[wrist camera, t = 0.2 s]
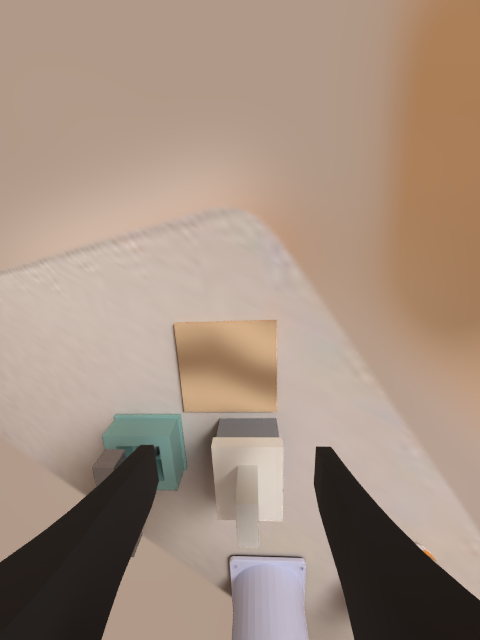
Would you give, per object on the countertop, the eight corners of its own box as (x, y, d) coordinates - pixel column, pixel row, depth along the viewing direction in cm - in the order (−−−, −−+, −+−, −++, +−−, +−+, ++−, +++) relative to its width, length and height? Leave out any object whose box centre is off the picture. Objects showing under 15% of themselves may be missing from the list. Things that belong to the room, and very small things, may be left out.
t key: (168, 478, 24) (139, 557, 18) (145, 478, 24) (109, 556, 18) (157, 406, 22) (119, 468, 16) (132, 406, 22) (86, 467, 16)
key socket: (187, 467, 24) (179, 492, 21) (126, 467, 24) (112, 491, 22) (180, 414, 22) (171, 434, 20) (115, 414, 22) (99, 434, 20)
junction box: (276, 481, 24) (278, 507, 21) (224, 480, 24) (221, 506, 22) (276, 418, 22) (279, 439, 19) (219, 418, 22) (215, 439, 20)
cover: (281, 509, 21) (287, 566, 17) (219, 507, 22) (211, 563, 18) (281, 437, 19) (289, 484, 15) (213, 437, 20) (203, 483, 16)
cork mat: (276, 408, 22) (276, 411, 21) (185, 409, 22) (184, 412, 22) (276, 320, 19) (276, 321, 19) (175, 322, 20) (173, 324, 19)
